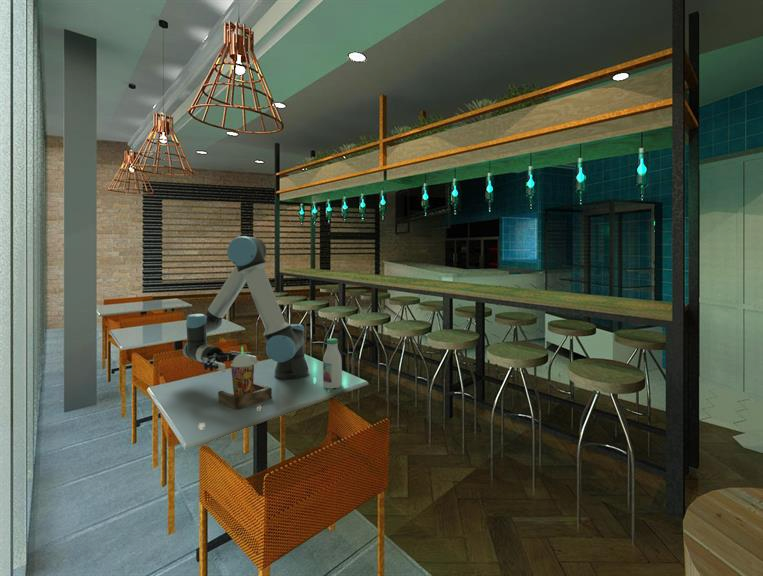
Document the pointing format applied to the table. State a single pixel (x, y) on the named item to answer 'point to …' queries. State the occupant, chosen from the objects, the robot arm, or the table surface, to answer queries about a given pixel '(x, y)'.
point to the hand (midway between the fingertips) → (240, 364)
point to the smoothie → (242, 374)
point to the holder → (246, 397)
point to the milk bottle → (332, 365)
